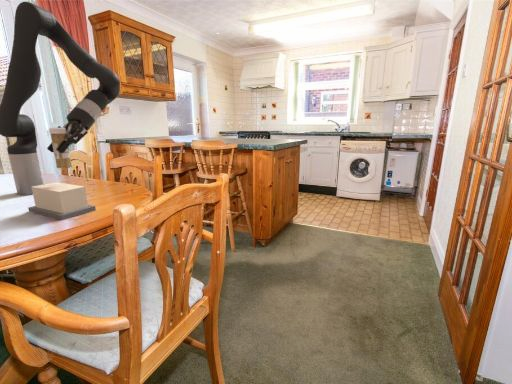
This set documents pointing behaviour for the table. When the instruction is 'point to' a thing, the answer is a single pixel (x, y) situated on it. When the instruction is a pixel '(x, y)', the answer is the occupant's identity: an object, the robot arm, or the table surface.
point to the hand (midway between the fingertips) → (54, 151)
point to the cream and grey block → (60, 200)
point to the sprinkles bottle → (57, 138)
